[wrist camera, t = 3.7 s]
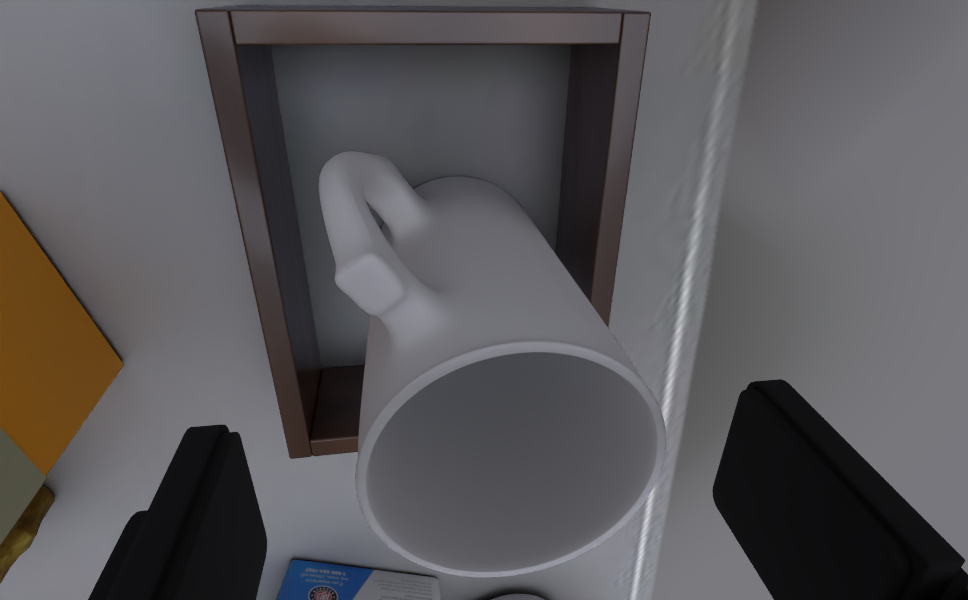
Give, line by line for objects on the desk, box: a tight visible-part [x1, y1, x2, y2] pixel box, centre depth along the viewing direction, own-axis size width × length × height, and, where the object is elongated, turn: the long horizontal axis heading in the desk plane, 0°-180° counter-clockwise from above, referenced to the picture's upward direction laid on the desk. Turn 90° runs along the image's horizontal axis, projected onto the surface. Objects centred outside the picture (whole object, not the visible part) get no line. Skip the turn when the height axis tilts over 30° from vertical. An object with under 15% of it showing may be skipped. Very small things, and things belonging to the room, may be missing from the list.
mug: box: [319, 151, 666, 577], centre depth 16 cm, size 10×7×12 cm, turn 33°
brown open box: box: [195, 5, 651, 459], centre depth 20 cm, size 12×15×4 cm
